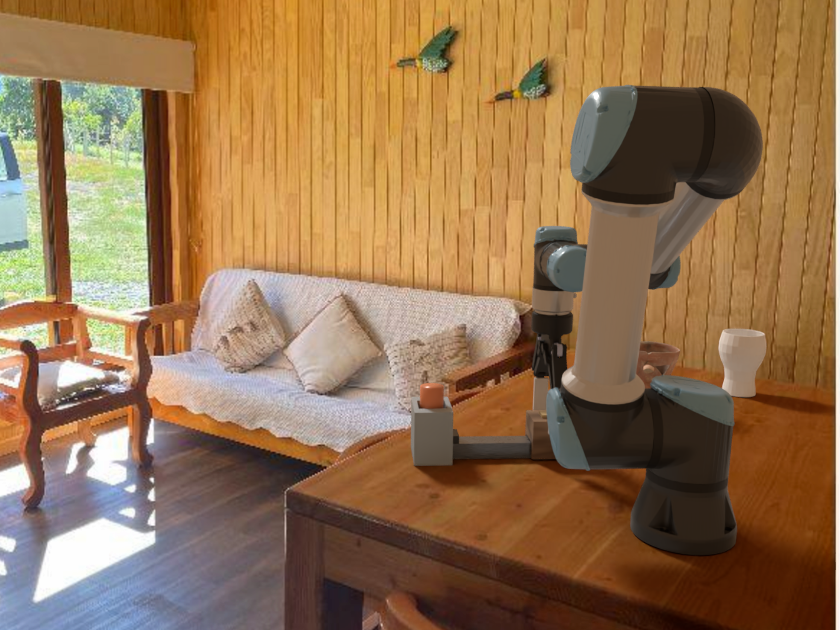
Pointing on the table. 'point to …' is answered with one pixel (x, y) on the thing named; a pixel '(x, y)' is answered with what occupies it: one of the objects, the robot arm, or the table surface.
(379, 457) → the table surface
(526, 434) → the block
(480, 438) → the rail
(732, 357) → the cup
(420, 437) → the grey button housing
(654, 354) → the ceramic jug
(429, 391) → the button
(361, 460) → the table surface
